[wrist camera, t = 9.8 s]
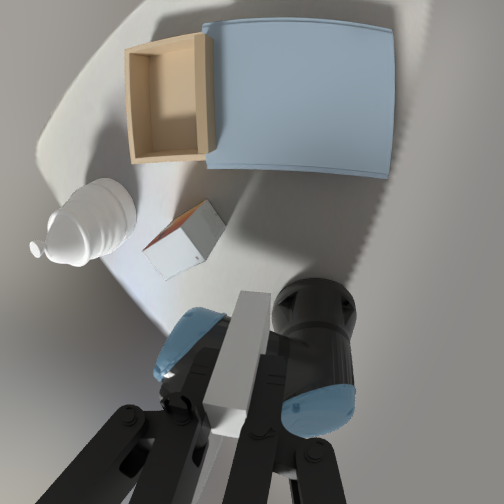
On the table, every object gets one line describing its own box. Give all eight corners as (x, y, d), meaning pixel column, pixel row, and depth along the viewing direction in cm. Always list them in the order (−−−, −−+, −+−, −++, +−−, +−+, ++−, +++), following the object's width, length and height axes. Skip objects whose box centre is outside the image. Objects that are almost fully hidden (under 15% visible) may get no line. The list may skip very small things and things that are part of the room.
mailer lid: (381, 174, 32) (395, 187, 27) (213, 164, 36) (198, 175, 31) (385, 34, 23) (400, 22, 18) (209, 28, 27) (192, 16, 21)
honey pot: (75, 206, 48) (11, 249, 32) (104, 163, 42) (28, 199, 27) (114, 253, 51) (59, 308, 36) (149, 216, 46) (85, 272, 30)
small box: (207, 197, 43) (181, 225, 33) (227, 227, 44) (207, 261, 35) (170, 220, 46) (140, 251, 37) (189, 247, 47) (164, 282, 38)
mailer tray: (295, 153, 37) (293, 161, 32) (151, 155, 40) (131, 164, 35) (295, 37, 29) (293, 26, 24) (146, 53, 32) (124, 49, 27)
